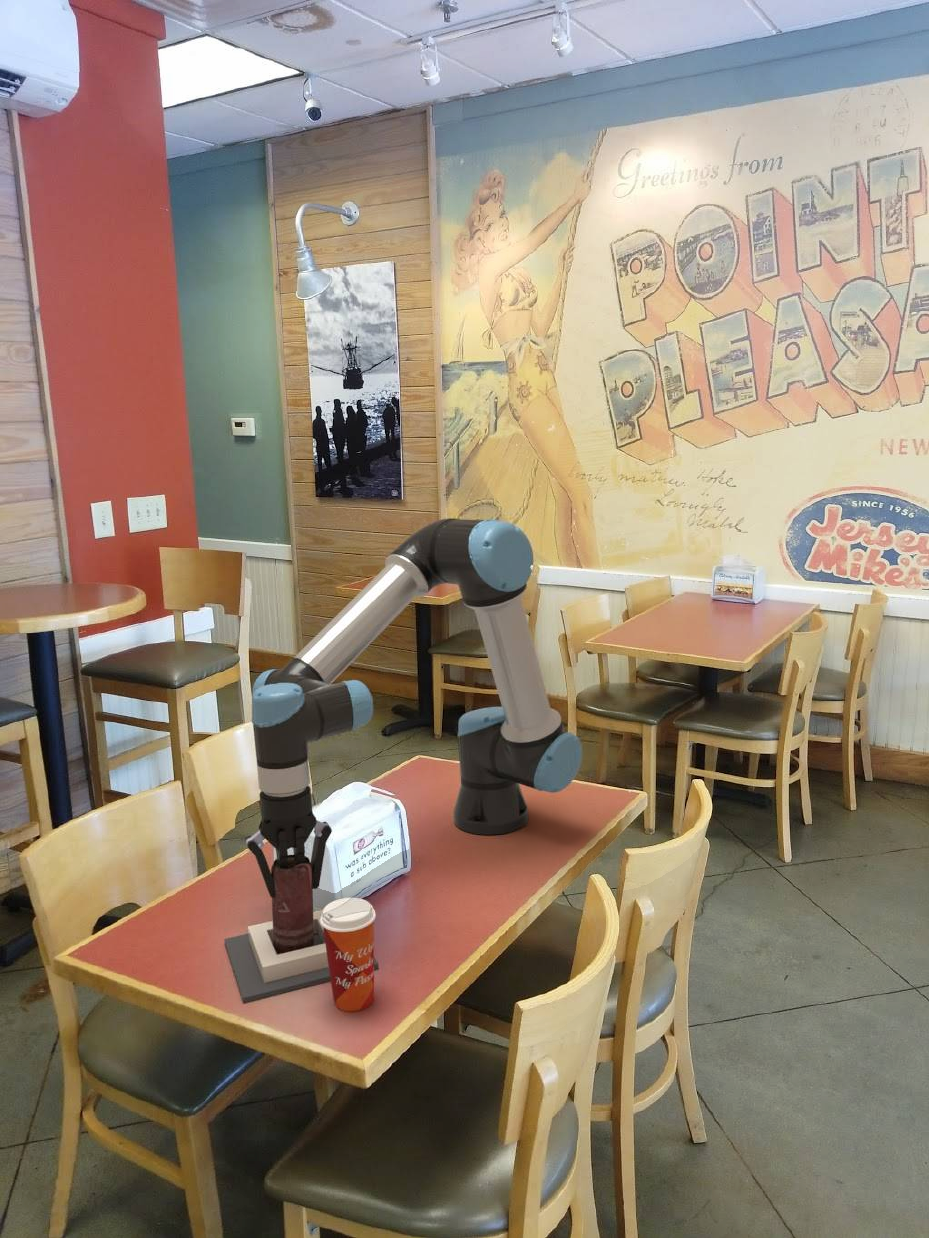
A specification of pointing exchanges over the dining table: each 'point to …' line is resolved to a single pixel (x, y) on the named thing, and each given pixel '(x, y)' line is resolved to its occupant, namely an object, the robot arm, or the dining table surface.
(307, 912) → the can
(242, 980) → the mat
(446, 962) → the dining table surface
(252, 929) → the holder
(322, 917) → the paper cup
